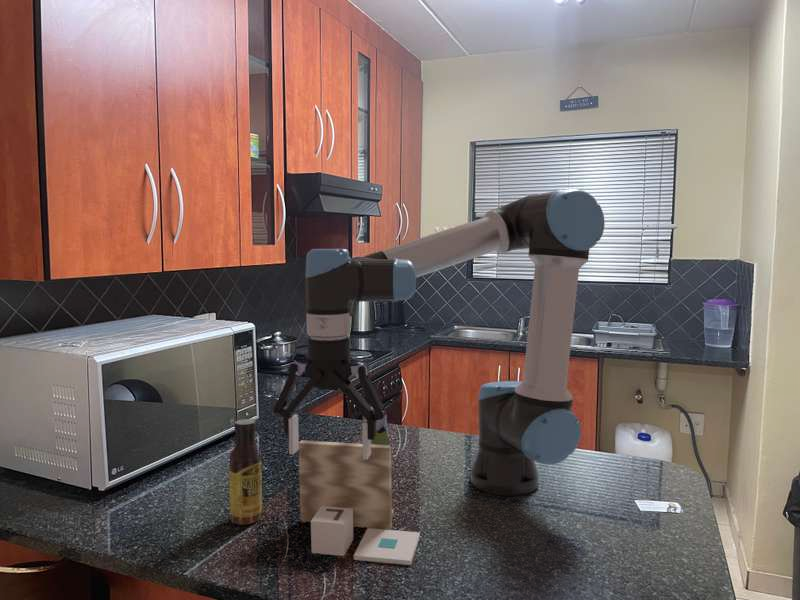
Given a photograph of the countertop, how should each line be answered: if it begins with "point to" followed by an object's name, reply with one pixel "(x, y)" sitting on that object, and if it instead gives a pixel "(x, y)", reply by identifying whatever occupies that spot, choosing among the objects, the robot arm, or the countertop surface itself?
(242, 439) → the sauce bottle
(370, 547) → the tile
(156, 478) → the countertop surface
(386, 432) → the beverage can
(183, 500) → the countertop surface
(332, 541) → the letter cube
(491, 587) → the countertop surface
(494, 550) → the countertop surface
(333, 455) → the screen
